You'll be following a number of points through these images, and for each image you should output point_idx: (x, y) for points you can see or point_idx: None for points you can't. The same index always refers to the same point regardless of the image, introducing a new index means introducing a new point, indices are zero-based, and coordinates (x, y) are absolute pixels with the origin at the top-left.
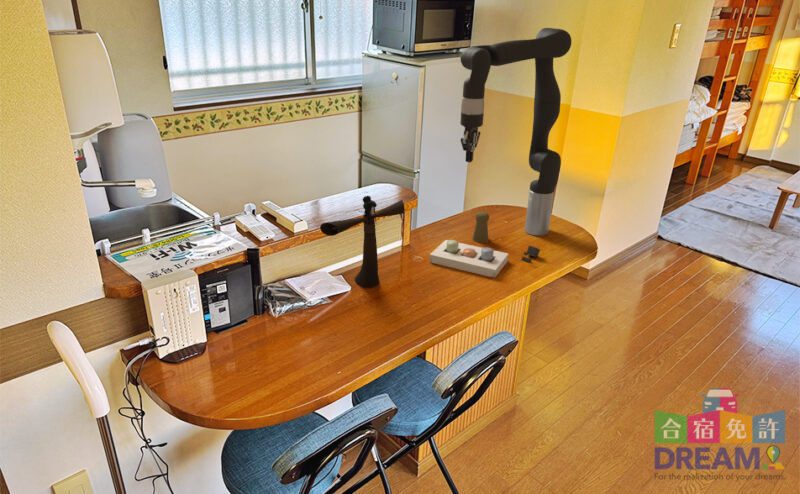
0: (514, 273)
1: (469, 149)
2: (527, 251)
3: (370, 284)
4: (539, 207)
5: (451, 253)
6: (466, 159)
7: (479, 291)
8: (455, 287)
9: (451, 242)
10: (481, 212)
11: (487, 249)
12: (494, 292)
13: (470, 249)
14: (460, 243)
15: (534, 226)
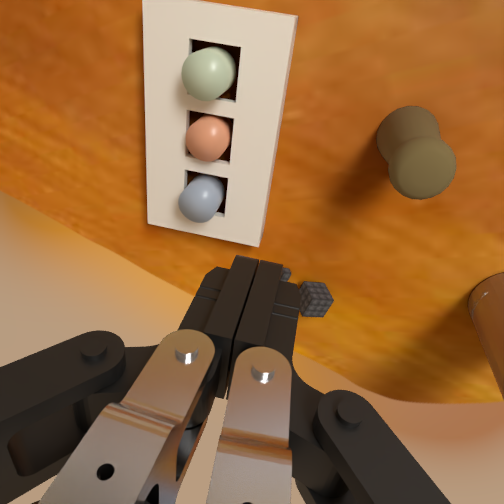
0: (202, 253)
1: (56, 421)
2: (306, 287)
3: None
4: (499, 373)
5: None
6: (207, 278)
7: (77, 186)
8: (60, 125)
9: (201, 72)
10: (426, 171)
11: (202, 204)
12: (93, 218)
13: (216, 143)
14: (279, 89)
15: (479, 313)
